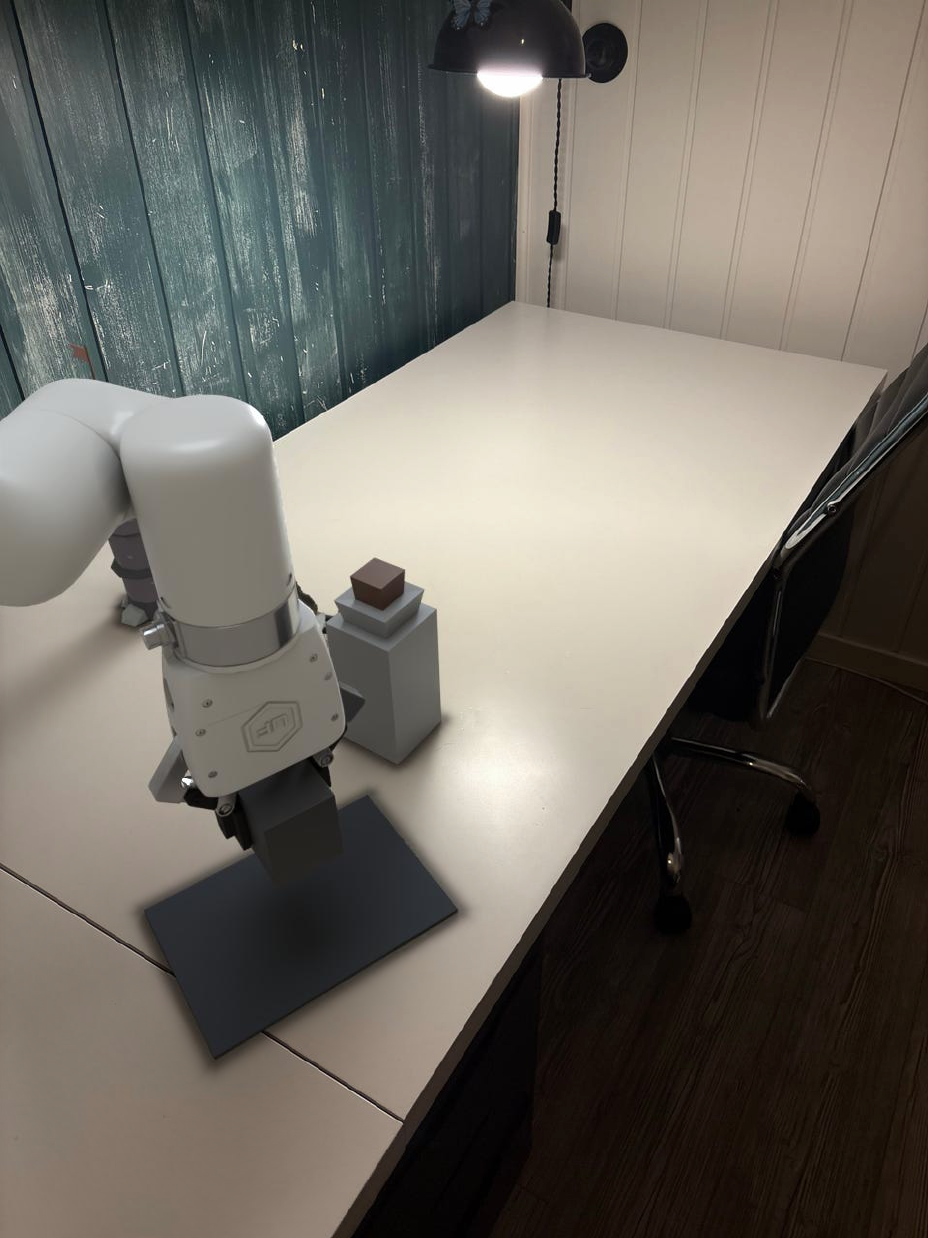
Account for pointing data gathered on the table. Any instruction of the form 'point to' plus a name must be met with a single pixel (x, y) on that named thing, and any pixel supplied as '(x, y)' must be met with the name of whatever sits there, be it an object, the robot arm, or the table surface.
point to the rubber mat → (294, 928)
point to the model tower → (130, 557)
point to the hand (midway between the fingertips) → (278, 814)
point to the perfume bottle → (387, 659)
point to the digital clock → (292, 822)
